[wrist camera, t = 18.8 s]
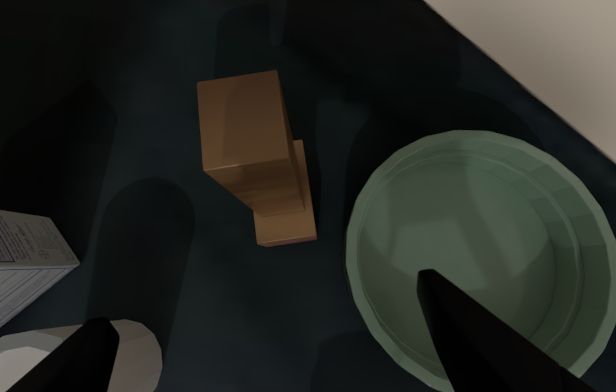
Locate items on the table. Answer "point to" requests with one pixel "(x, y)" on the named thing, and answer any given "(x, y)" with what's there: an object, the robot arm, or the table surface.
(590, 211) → the bowl
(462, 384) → the robot arm
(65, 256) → the medicine box
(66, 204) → the table surface
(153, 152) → the table surface
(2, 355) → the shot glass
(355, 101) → the table surface
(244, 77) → the brown stepped block
